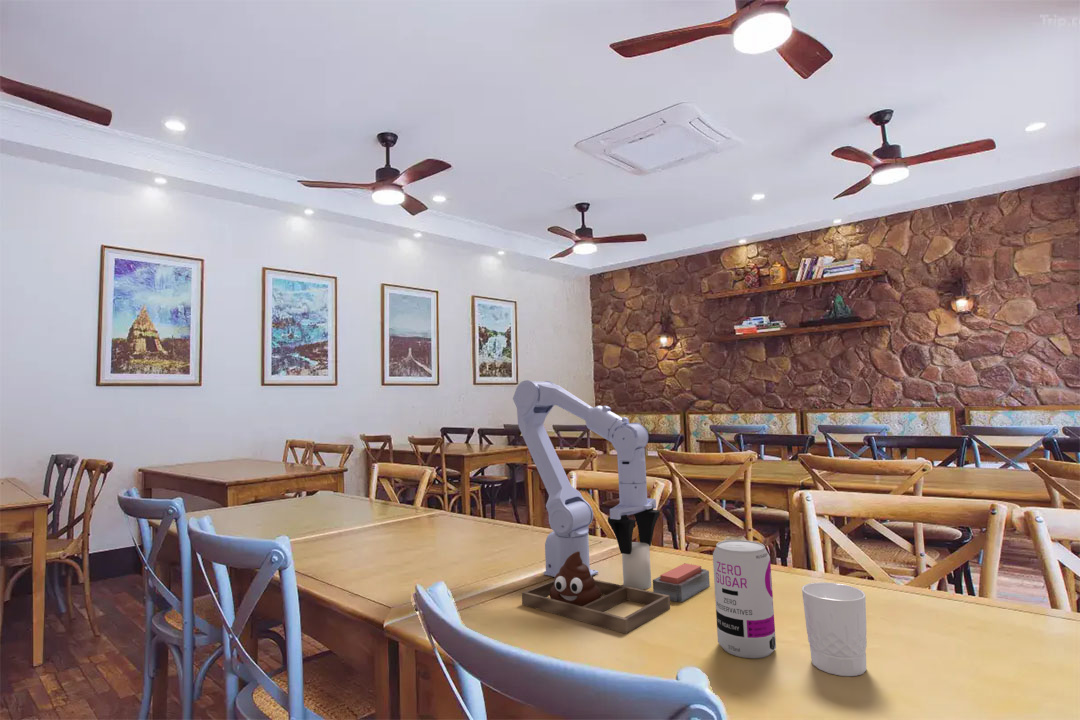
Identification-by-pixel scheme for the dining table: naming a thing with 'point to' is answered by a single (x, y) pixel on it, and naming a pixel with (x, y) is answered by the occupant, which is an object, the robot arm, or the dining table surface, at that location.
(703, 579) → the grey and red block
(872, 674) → the dining table surface
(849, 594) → the white cup
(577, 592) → the poop emoji
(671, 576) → the bar
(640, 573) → the wax pillar
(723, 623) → the supplement can
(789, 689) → the dining table surface
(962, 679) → the dining table surface
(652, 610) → the divided tray
